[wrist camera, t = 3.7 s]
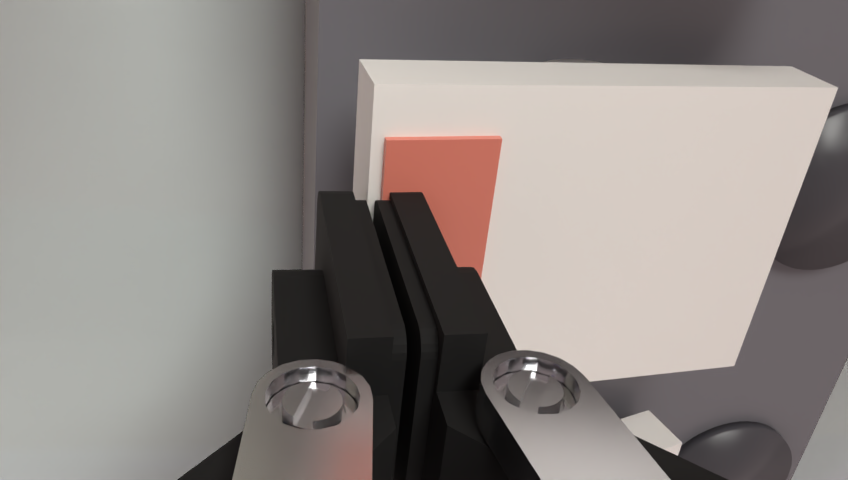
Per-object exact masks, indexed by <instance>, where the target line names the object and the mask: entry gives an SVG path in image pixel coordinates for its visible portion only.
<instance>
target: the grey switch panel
mask: <svg viewBox="0 0 848 480" xmlns="http://www.w3.org/2000/svg"><path fill="white" fill-rule="evenodd" d="M359 59H378V60H439V61H500V62H546V61H550V60H557V59H578V60H588V61H595V62H601V63H623V64H684V65H745V66H792V67H794V68H796V69H799V70H801V71H803V72H805V73H807V74H810V75H812V76H814V77H816V78H818V79H820V80H823V81H825V82H827V83H829V84H831V85H834V86H836V87H838V90H837V92H836V95H835V98H834V100H833V103H832V106H831V108H830V111H829V114H828V116H827V119H826V122H825V124H824V127H823V130H822V132H821V135H820V138H819V141H818V143H817V146H816V149H815V151H814V154H813V157H812V159H811V162H810V165H809V167H808V170H807V173H806V175H805V178H804V181H803V183H802V186H801V189H800V191H799V194H798V197H797V199H796V202H795V205H794V207H793V210H792V213H791V215H790V218H789V221H788V223H787V226H786V229H785V231H784V234H783V237H782V239H781V242H780V245H779V247H778V250H777V253H776V256H775V258H774V261H773V264H772V266H771V269H770V272H769V274H768V277H767V280H766V282H765V285H764V288H763V290H762V293H761V296H760V298H759V301H758V304H757V306H756V309H755V312H754V314H753V317H752V320H751V322H750V325H749V328H748V330H747V333H746V336H745V338H744V341H743V344H742V346H741V349H740V352H739V354H738V357H737V360H736V362H735V365H734V366H730V367H721V368H711V369H702V370H693V371H684V372H674V373H665V374H656V375H647V376H637V377H628V378H619V379H609V380H600V381H591V382H590V383H591V384H592V386H593V387H594V388H595V389H596V390H597V392H598V393H599V394H600V395H601V396H602V398H603V399H604V400H605V401H606V402H607V404H608V405H609V406H610V407H611V408H612V410H613V411H614V412H615V413H616V414H617V416H618V417H619V418H620V419H622V418H625V417H628V416H632V415H635V414H638V413H641V412H644V411H648V410H649V411H650V412H651V413H652V414H653V415H654V416H655V417H656V418H657V419H658V420H659V421H660V422H661V423H663V424H664V425H665V426H666V427H667V428H668V429H669V430H670V431H671V432H672V433H673V434H674V435H675V436H676V437H677V438H678V439H679V440H680V441H681V442H682V446H681V448H680V451H679V454H678V456H679V457H681V458H683V459H685V460H688V461H690V462H692V463H694V464H696V465H698V466H700V467H702V468H705V469H707V470H709V471H711V472H713V473H715V474H717V475H719V476H722V477H724V478H726V479H728V480H791V478H792V476H793V474H794V472H795V470H796V468H797V465H798V463H799V461H800V459H801V457H802V455H803V453H804V450H805V448H806V446H807V444H808V442H809V440H810V438H811V435H812V433H813V431H814V429H815V427H816V425H817V422H818V420H819V418H820V416H821V414H822V412H823V410H824V407H825V405H826V403H827V401H828V399H829V397H830V395H831V392H832V390H833V388H834V386H835V384H836V382H837V379H838V377H839V375H840V373H841V371H842V369H843V367H844V364H845V362H846V360H847V358H848V0H305V73H304V152H303V231H302V270H311V269H315V247H316V220H317V198H318V192H319V191H353V176H354V156H355V135H356V115H357V94H358V74H359Z"/></svg>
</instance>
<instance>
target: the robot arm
mask: <svg viewBox="0 0 848 480" xmlns="http://www.w3.org/2000/svg"><path fill="white" fill-rule="evenodd" d="M389 199H390V200H375V204H374V217H373V220H372V217H371V214H370V211H369V207H368V204H367V201H366V200H355V196H354V193H353V191H319V192H318V198H317V220H316V247H315V269H311V270H272V365H273V370H271V371H269V372H267V373H266V374H265V375H264V376H263V377H262V378H261V379H260V380H259V381H258V382H257V384H256V386H255V388H254V390H253V392H252V395H251V399H250V403H249V408H248V412H247V417H246V421H245V425H244V430H243V432H241V433H240V434H238V435H237V436H236V437H234V438H233V439H232V440H230V441H229V442H228V443H226V444H225V445H224V446H222V447H221V448H220V449H218V450H217V451H215V452H214V453H213V454H211V455H210V456H209V457H207V458H206V459H205V460H203V461H202V462H201V463H199V464H198V465H197V466H195V467H194V468H192V469H191V470H190V471H188V472H187V473H186V474H184V475H183V476H182V477H180V478H179V479H178V480H728V479H726V478H724V477H722V476H719V475H717V474H715V473H713V472H711V471H709V470H707V469H705V468H702V467H700V466H698V465H696V464H694V463H692V462H690V461H688V460H685V459H683V458H681V457H679V456H677V455H675V454H673V453H671V452H668V451H666V450H664V449H662V448H660V447H658V446H656V445H654V444H651V443H649V442H647V441H645V440H643V439H641V438H639V437H637V436H634V435H633V434H632V432H631V431H630V430H629V429H628V428H627V426H626V425H625V424H624V423H623V422H622V420H621V419H620V418H619V417H618V416H617V414H616V413H615V412H614V411H613V410H612V408H611V407H610V406H609V405H608V404H607V402H606V401H605V400H604V399H603V398H602V396H601V395H600V394H599V393H598V392H597V390H596V389H595V388H594V387H593V386H592V384H591V383H590V382H589V381H588V379H587V378H586V377H585V376H584V375H583V374H582V373H581V372H580V371H579V370H578V369H576V368H575V367H574V366H573V365H571V364H569V363H568V362H566V361H564V360H562V359H561V358H558V357H555V356H552V355H549V354H547V353H543V352H537V351H530V350H517V349H516V347H515V345H514V343H513V341H512V339H511V337H510V335H509V334H508V332H507V330H506V328H505V326H504V324H503V322H502V320H501V318H500V316H499V314H498V312H497V310H496V308H495V306H494V304H493V302H492V300H491V298H490V296H489V294H488V292H487V290H486V288H485V286H484V284H483V282H482V280H481V278H480V276H479V274H478V272H477V271H476V269H475V268H474V267H457V265H456V263H455V261H454V259H453V257H452V255H451V253H450V250H449V248H448V246H447V244H446V242H445V240H444V237H443V235H442V233H441V231H440V229H439V227H438V225H437V222H436V220H435V218H434V216H433V214H432V212H431V210H430V207H429V205H428V203H427V201H426V199H425V197H424V195H423V193H422V192H390V197H389Z"/></svg>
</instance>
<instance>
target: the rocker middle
mask: <svg viewBox="0 0 848 480" xmlns="http://www.w3.org/2000/svg"><path fill="white" fill-rule="evenodd" d="M837 90H838V87H836V86H834V85H831V84H829V83H827V82H825V81H823V80H820V79H818V78H816V77H814V76H812V75H810V74H807V73H805V72H803V71H801V70H799V69H796V68H794V67H792V66H745V65H684V64H623V63H601V62H595V61H588V60H578V59H557V60H550V61H546V62H500V61H439V60H378V59H359V74H358V94H357V115H356V135H355V156H354V176H353V193H354V196H355V200H366V201H367V204H368V207H369V211H370V214H371V217H372V220H373V217H374V204H375V200H390V199H389V197H390V192H422V193H423V195H424V197H425V199H426V201H427V203H428V205H429V207H430V210H431V212H432V214H433V216H434V218H435V220H436V222H437V225H438V227H439V229H440V231H441V233H442V235H443V237H444V240H445V242H446V244H447V246H448V248H449V250H450V253H451V255H452V257H453V259H454V261H455V263H456V265H457V267H474V268H475V269H476V271H477V272H478V274H479V276H480V278H481V280H482V282H483V284H484V286H485V288H486V290H487V292H488V294H489V296H490V298H491V300H492V302H493V304H494V306H495V308H496V310H497V312H498V314H499V316H500V318H501V320H502V322H503V324H504V326H505V328H506V330H507V332H508V334H509V335H510V337H511V339H512V341H513V343H514V345H515V347H516V349H517V350H530V351H537V352H543V353H547V354H549V355H552V356H555V357H558V358H561V359H562V360H564V361H566V362H568V363H569V364H571V365H573V366H574V367H575V368H576V369H578V370H579V371H580V372H581V373H582V374H583V375H584V376H585V377H586V378H587V379H588V381H589V382H591V381H600V380H609V379H619V378H628V377H637V376H647V375H656V374H665V373H674V372H684V371H693V370H702V369H711V368H721V367H730V366H734V365H735V362H736V360H737V357H738V354H739V352H740V349H741V346H742V344H743V341H744V338H745V336H746V333H747V330H748V328H749V325H750V322H751V320H752V317H753V314H754V312H755V309H756V306H757V304H758V301H759V298H760V296H761V293H762V290H763V288H764V285H765V282H766V280H767V277H768V274H769V272H770V269H771V266H772V264H773V261H774V258H775V256H776V253H777V250H778V247H779V245H780V242H781V239H782V237H783V234H784V231H785V229H786V226H787V223H788V221H789V218H790V215H791V213H792V210H793V207H794V205H795V202H796V199H797V197H798V194H799V191H800V189H801V186H802V183H803V181H804V178H805V175H806V173H807V170H808V167H809V165H810V162H811V159H812V157H813V154H814V151H815V149H816V146H817V143H818V141H819V138H820V135H821V132H822V130H823V127H824V124H825V122H826V119H827V116H828V114H829V111H830V108H831V106H832V103H833V100H834V98H835V95H836V92H837Z"/></svg>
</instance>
